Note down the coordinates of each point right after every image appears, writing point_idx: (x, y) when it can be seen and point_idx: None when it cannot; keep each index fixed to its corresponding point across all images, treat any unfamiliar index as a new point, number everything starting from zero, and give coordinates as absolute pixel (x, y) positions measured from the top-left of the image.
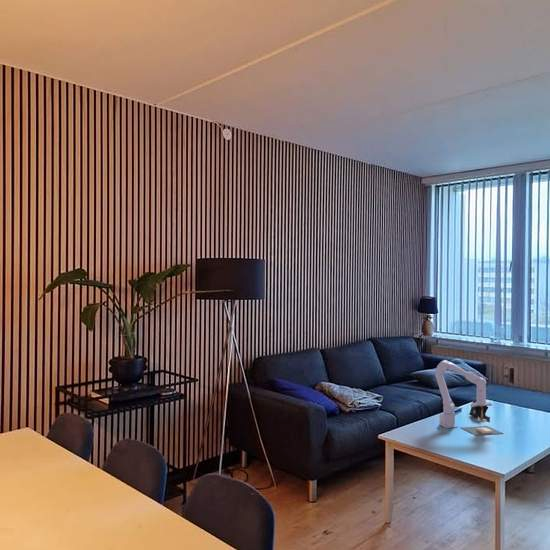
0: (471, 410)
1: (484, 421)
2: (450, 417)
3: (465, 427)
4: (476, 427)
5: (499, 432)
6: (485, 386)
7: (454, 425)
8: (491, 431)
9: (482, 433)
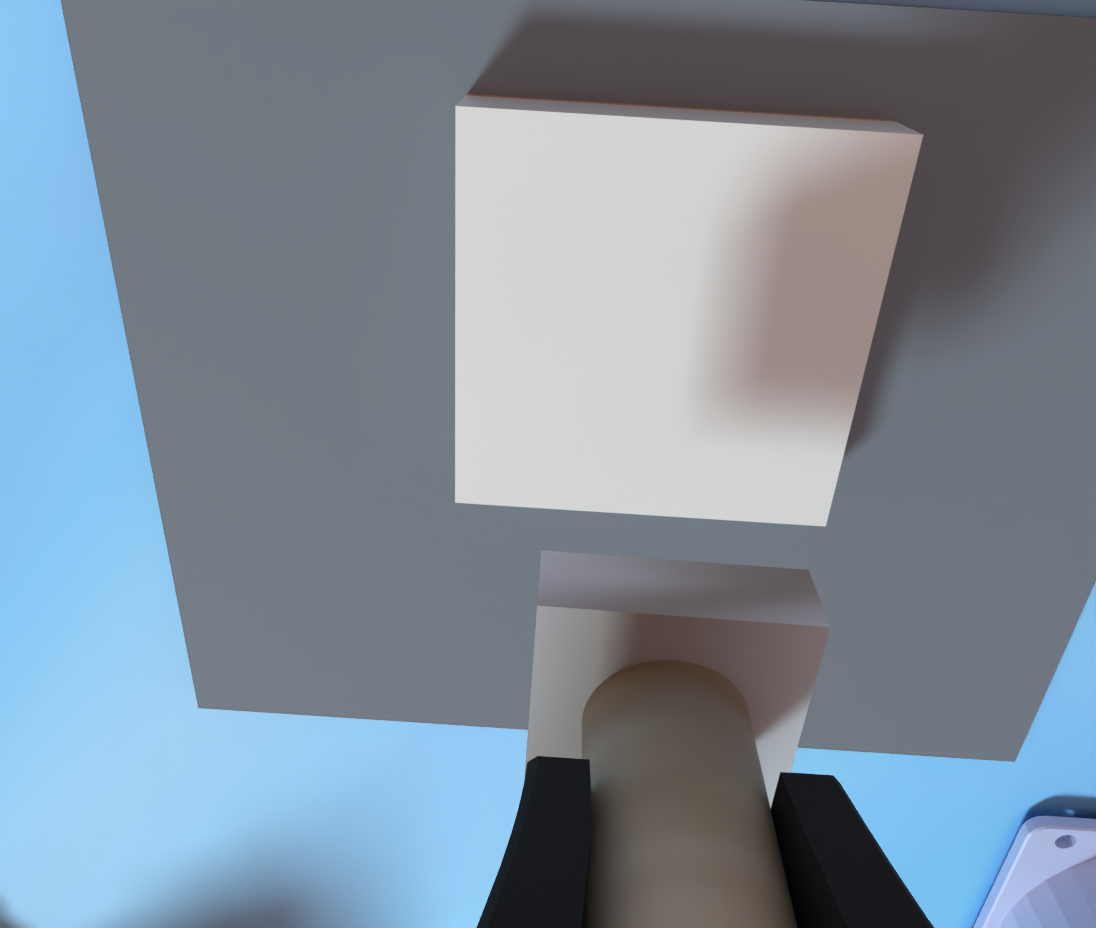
0: None
1: (589, 568)
2: None
3: (886, 741)
4: None
5: (158, 71)
6: None
7: (1087, 876)
8: (510, 107)
9: None
